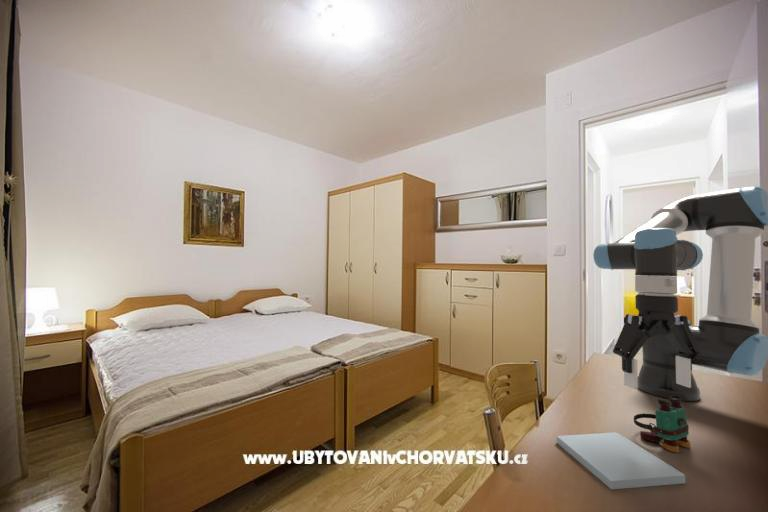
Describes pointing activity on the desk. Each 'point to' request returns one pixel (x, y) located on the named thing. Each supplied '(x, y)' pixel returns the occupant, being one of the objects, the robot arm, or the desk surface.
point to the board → (619, 461)
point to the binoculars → (667, 424)
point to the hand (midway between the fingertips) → (657, 386)
